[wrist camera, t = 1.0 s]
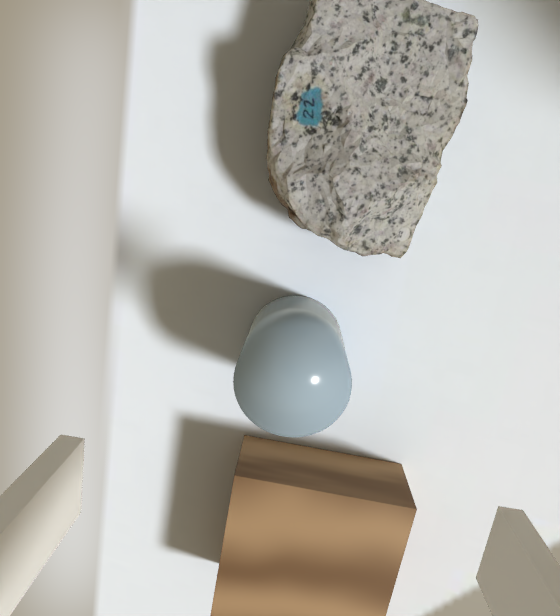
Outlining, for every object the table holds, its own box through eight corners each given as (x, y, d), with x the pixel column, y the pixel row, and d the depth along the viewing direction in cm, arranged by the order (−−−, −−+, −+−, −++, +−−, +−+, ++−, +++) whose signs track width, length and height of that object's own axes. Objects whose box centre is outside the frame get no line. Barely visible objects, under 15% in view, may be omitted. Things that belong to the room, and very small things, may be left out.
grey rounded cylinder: (255, 288, 30) (241, 318, 23) (349, 303, 30) (362, 338, 23) (243, 375, 31) (226, 427, 25) (332, 389, 31) (340, 445, 25)
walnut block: (245, 432, 33) (234, 475, 28) (400, 461, 33) (416, 509, 28) (222, 560, 36) (209, 619, 31) (366, 587, 36) (375, 650, 31)
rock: (310, -22, 25) (316, -74, 20) (477, 39, 26) (522, 4, 21) (239, 211, 28) (230, 216, 23) (391, 262, 29) (412, 276, 24)
